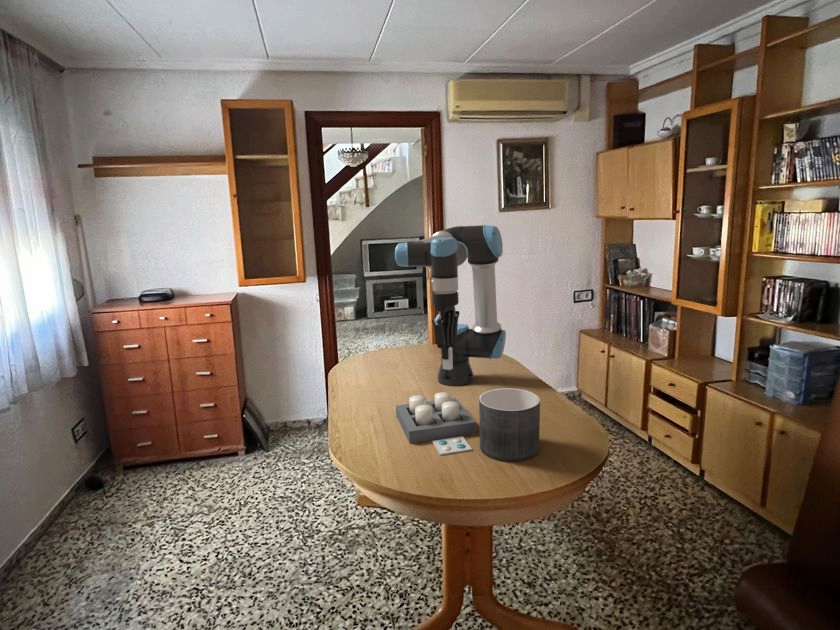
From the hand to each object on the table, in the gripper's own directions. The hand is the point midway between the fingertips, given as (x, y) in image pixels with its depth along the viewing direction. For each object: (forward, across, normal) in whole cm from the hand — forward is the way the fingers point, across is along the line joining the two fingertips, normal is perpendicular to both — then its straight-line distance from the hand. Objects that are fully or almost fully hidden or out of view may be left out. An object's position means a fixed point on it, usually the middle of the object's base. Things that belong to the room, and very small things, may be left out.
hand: (447, 368), depth 156 cm
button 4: (+22, -10, -5) cm, 24 cm away
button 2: (+22, -3, -11) cm, 25 cm away
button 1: (+22, -10, -18) cm, 30 cm away
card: (+24, +1, +1) cm, 24 cm away
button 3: (+22, -16, -11) cm, 29 cm away
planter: (+25, -6, +17) cm, 31 cm away
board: (+24, -10, -11) cm, 29 cm away
